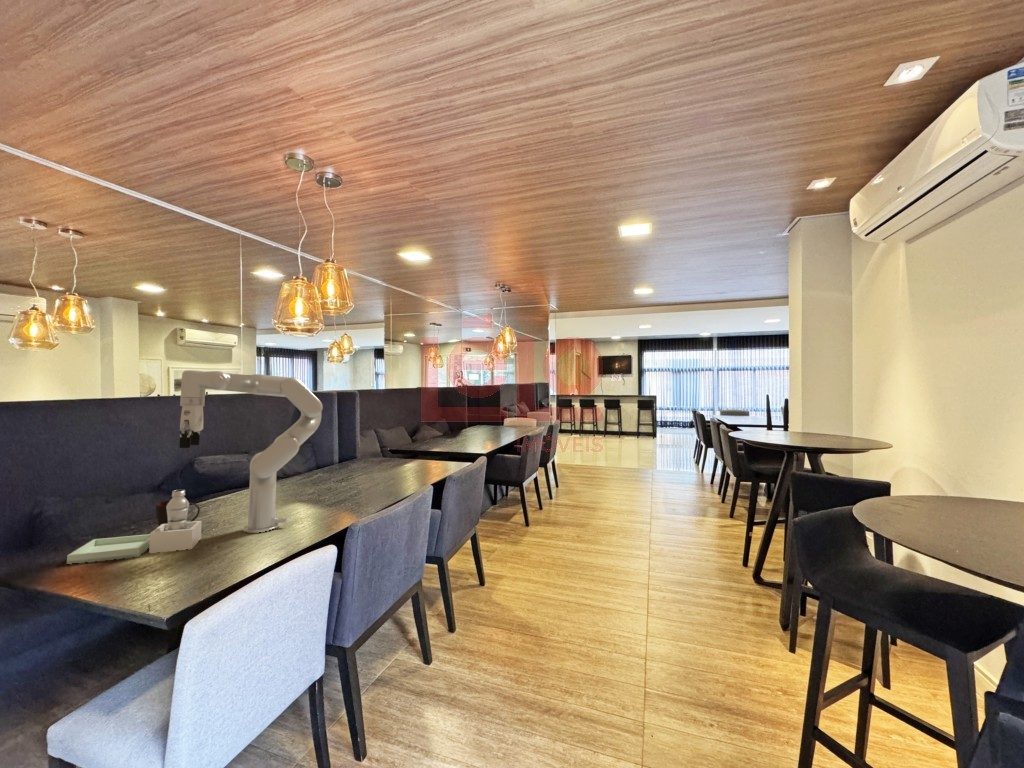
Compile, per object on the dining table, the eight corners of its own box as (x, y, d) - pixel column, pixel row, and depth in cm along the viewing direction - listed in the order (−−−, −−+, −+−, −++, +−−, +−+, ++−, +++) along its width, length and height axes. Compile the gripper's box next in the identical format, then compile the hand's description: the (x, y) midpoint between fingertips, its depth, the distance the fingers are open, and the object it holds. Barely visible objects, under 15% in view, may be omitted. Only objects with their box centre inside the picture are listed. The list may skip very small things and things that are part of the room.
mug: (154, 531, 164) (156, 501, 164) (198, 525, 173) (199, 496, 173) (154, 538, 156) (155, 507, 157) (199, 531, 165) (201, 501, 166)
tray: (157, 541, 153) (157, 533, 153) (138, 557, 139) (139, 548, 139) (93, 547, 146) (93, 539, 146) (66, 564, 131) (67, 555, 132)
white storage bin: (200, 539, 157) (201, 520, 157) (191, 549, 146) (192, 529, 147) (161, 543, 152) (162, 524, 152) (149, 553, 142) (150, 533, 142)
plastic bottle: (192, 543, 152) (194, 489, 153) (175, 550, 145) (178, 493, 146) (176, 542, 153) (179, 488, 154) (159, 549, 146) (162, 492, 147)
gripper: (196, 402, 153) (193, 448, 152) (211, 402, 169) (208, 443, 168) (171, 402, 150) (168, 449, 149) (189, 401, 166) (186, 444, 165)
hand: (189, 446), depth 159 cm, fingers open, 9 cm apart
